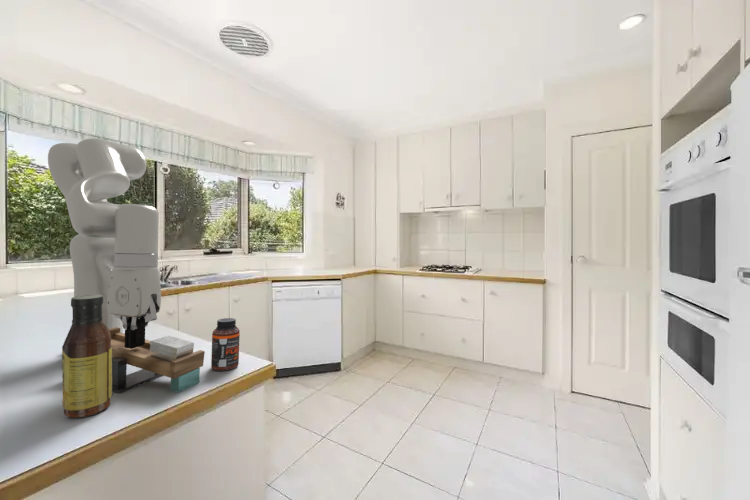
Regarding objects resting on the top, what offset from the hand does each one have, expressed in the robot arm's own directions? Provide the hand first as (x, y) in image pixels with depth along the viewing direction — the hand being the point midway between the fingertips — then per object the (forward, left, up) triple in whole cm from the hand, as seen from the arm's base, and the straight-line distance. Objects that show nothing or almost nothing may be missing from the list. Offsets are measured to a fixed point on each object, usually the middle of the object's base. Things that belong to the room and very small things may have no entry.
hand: (134, 346), depth 68 cm
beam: (+2, 0, -5) cm, 5 cm away
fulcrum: (+2, 0, -7) cm, 7 cm away
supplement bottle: (+14, +11, -7) cm, 19 cm away
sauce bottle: (+7, -13, -7) cm, 16 cm away
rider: (+10, 0, -2) cm, 10 cm away
